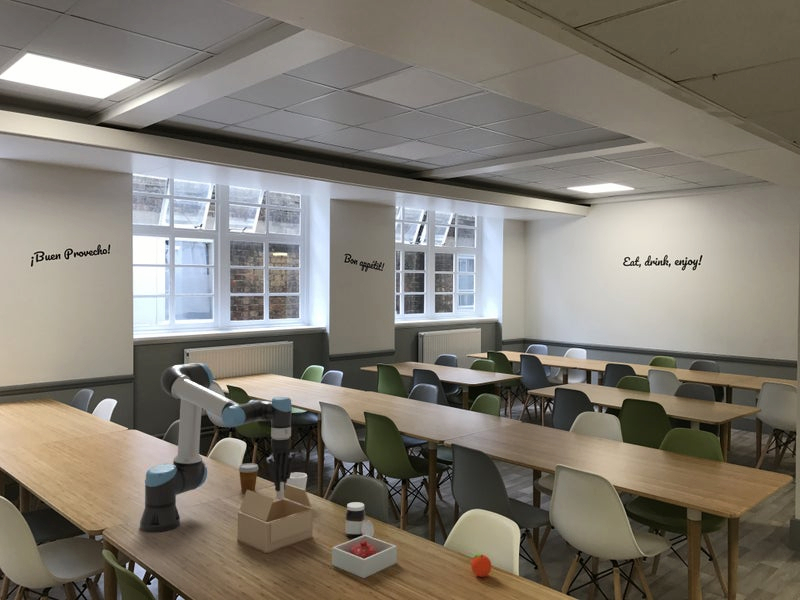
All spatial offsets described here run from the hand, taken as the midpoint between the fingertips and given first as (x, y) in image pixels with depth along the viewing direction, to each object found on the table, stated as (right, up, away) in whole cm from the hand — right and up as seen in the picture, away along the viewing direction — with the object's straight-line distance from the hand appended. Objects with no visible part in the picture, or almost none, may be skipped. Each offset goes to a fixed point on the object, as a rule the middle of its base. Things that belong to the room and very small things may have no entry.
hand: (280, 498), depth 241 cm
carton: (-2, -15, 0) cm, 16 cm away
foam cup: (-1, -16, +41) cm, 44 cm away
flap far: (+4, 0, +7) cm, 8 cm away
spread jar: (+30, -16, +5) cm, 35 cm away
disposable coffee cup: (-27, -15, +60) cm, 67 cm away
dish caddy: (+34, -16, -22) cm, 43 cm away
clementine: (+73, -17, -29) cm, 81 cm away
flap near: (-7, 0, -7) cm, 10 cm away
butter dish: (+33, -17, -22) cm, 43 cm away
